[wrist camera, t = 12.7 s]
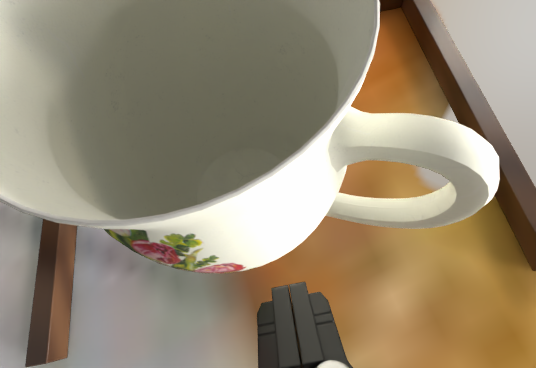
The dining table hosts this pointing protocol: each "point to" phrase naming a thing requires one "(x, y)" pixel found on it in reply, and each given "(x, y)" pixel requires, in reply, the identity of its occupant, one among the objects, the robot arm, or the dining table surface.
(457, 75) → the bay
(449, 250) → the dining table surface
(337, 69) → the pitcher
